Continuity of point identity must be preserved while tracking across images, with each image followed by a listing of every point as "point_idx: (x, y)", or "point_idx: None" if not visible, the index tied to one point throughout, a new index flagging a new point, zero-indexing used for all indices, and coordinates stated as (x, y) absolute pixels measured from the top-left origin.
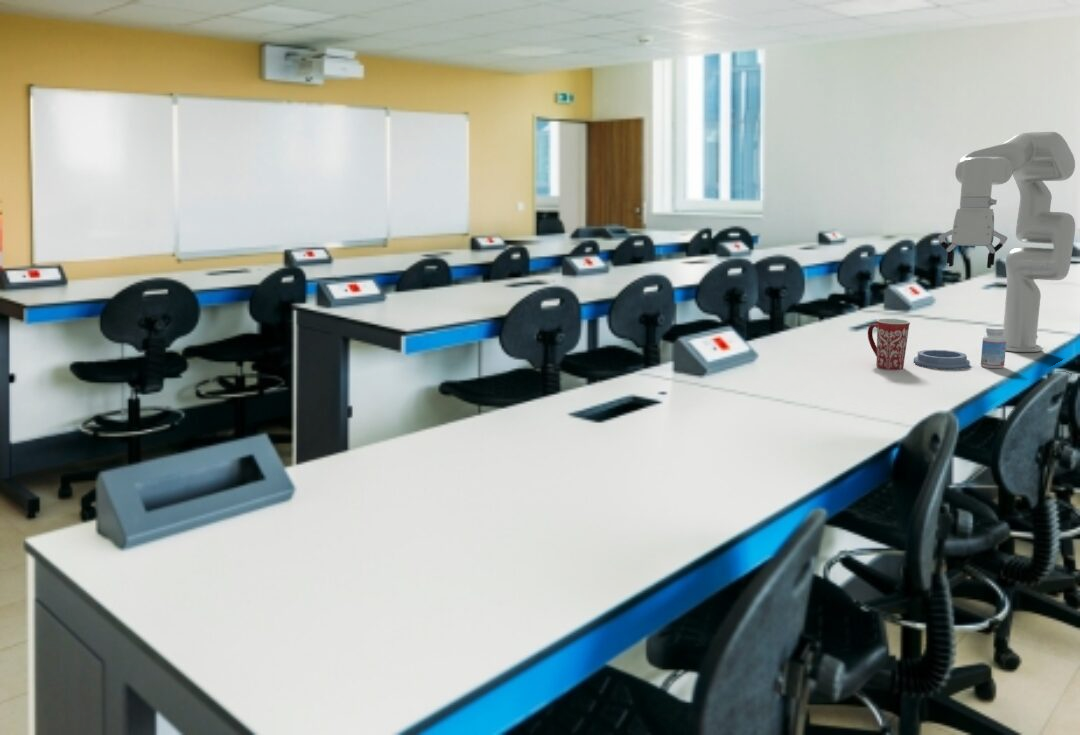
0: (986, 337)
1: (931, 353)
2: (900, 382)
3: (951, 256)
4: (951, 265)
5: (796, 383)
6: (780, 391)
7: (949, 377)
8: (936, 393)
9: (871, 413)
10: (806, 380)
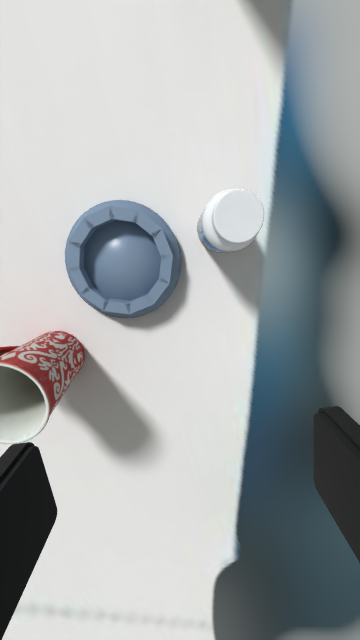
0: (216, 242)
1: (88, 236)
2: (127, 454)
3: (4, 622)
4: (54, 520)
5: None
6: None
7: (178, 377)
8: (195, 490)
9: (164, 607)
10: None
